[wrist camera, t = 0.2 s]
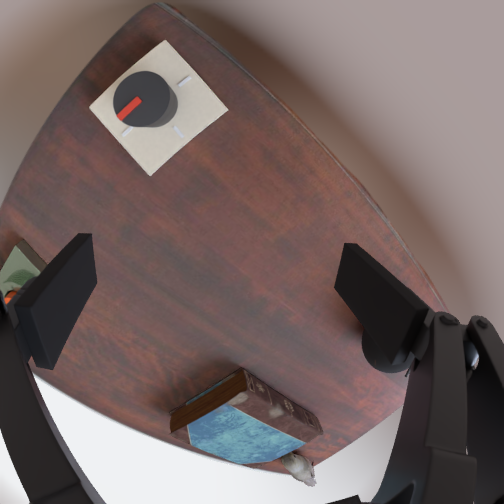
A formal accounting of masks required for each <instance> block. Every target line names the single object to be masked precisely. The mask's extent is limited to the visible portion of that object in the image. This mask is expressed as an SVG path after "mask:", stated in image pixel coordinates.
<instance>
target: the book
mask: <svg viewBox="0 0 504 504" xmlns="http://www.w3.org/2000/svg"><path fill="white" fill-rule="evenodd" d="M169 413H170V414H172V416H171V421H170V429H171V433H170V434H169V435H170V436H172V437H174V438H177V439H179V440H181V441H183V442H185V443H188V444H190V445H192V446H194V447H197V448H199V449H202V450H204V451H206V452H209V453H211V454H214V455H216V456H219V457H222V458H224V459H227V460H230V461H233V462H235V463H238V464H241V465H244V466H247V467H250V468H254V469H255V468H257V467H259V466H262V465H264V464H266V463H268V462H271V461H273V460H275V459H277V458H279V457H281V456H283V455H285V454H287V453H289V452H291V451H293V450H295V449H297V448H299V447H301V446H302V445H304V444H306V443H308V442H309V441H311V440H312V439H314V438H315V437H317V436H318V435H323V430H322V427H321V425H320V423H319V421H318V419H317V417H316V416H314V415H313V414H311V413H309V412H308V411H306V410H304V409H303V408H301V407H300V406H298V405H296V404H295V403H293V402H292V401H290V400H288V399H287V398H285V397H284V396H282V395H281V394H279V393H278V392H276V391H275V390H273V389H272V388H270V387H269V386H267V385H266V384H264V383H263V382H261V381H260V380H258V379H257V378H255V377H254V376H253V375H251V374H250V373H248V372H247V371H245V370H244V369H243V368H240V369H239V370H237V371H236V372H235V373H233V374H231V375H230V376H228V377H226V378H225V379H223V380H222V381H220V382H219V383H217V384H215V385H214V386H212V387H211V388H209V389H207V390H206V391H204V392H203V393H201V394H199V395H198V396H196V397H194V398H193V399H191V400H189V401H188V402H186V403H184V404H183V405H181V406H179V407H178V408H176V409H174V410H173V411H171V412H169Z"/></svg>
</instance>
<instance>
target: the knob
mask: <svg viewBox="0 0 504 504" xmlns="http://www.w3.org/2000/svg"><path fill="white" fill-rule="evenodd" d="M113 108H114V111H115V114H116V115H117V118H118V119H119V120H120V121H122V122H123V123H124V124H126V125H129V126H132V127H150V128H155V127H160V126H163V125H165V124H167V123H168V122H169V121H170V120H172V118H173V117H174V115H175V114H176V111H177V108H178V100H177V96H176V94H175V93H174V91H173V90H172V89H171V87H170V86H169V85H168V84H167V82H166V81H165V80H164V79H163V78H162V77H161V76H160V75H158V74H156V73H154V72H150V71H140V72H136V73H133V74H131V75H129V76H127V77H126V78H125V79H124V80H123V81H122V82H121V83H120V84H119V85H118V87H117V89H116V91H115V93H114V97H113Z"/></svg>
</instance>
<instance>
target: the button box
mask: <svg viewBox="0 0 504 504" xmlns="http://www.w3.org/2000/svg"><path fill="white" fill-rule="evenodd" d="M46 266H47V264H46V263H45V262H44V261H43V260H42V259H41V258H40V257H39V256H38V255H37V254H36V253H35V252H34V250H33V249H32V248H31V247H30V246H29V245H28V244H27V243H26V242H25V240H24V239H23V240H21V241H20V242H19V243H18V244H16V245H15V247H14V248H13V250H12V252H11V254H10V255H9V257H8V259H7V260H6V262H5V264H4V266H3V268H2V269H1V271H0V290H1V291H2V293H3V297H4V298H5V297H6V296H7V295H8V294H9V293H10V292H11V291H16V292H17V291H18V290H19V289H21V287H22V286H23V285H24V284H25V282H26V281H28V280H30V279H31V278H33V277H34V276H38V275H39V274H40V273H41V272H42V271H43V270H44V269H45V267H46Z"/></svg>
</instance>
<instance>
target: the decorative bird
mask: <svg viewBox="0 0 504 504" xmlns="http://www.w3.org/2000/svg"><path fill="white" fill-rule="evenodd" d="M281 461H282V463H283V465H284V467H285V468H286V469H287V470H289V472H290V474H291V475H292V476H293V477H294V478H295V479H296V480H298V481H302V482H304V483H305V484H306V485H308V486H315V484H316V482H315V480H314V476H315V475H314V469H313V462H312V464H311V462H310V461H309V460H308V459H307V458H306V457H304V456H302V455H296V454H294V453H292V452H289V453H287V454H285V455H283V456H282V460H281Z"/></svg>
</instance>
